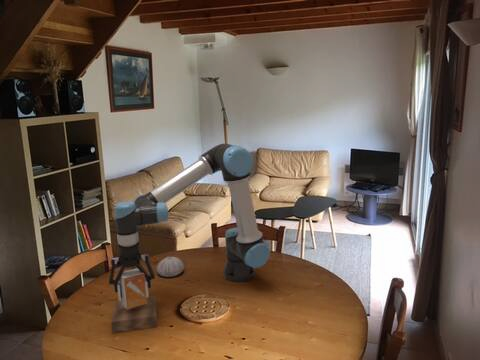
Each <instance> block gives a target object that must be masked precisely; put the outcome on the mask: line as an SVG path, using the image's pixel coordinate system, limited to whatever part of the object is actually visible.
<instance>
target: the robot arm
mask: <svg viewBox="0 0 480 360" xmlns="http://www.w3.org/2000/svg"><path fill="white" fill-rule="evenodd" d="M253 165H254V160H253V156H252V154H251V153H250V151H249V150H247V148H245V147H243V146H240V145H234V144H229V143H221V144H218V145H215V146H213V147H212V148H210V149H208V150H207V151H206V152H204V153H202V154H201V155H200V156H199V157H198V160H196V161H194V162H193V163H191V164H190V165H189V166H187V167H185V168H184V169H182V170H181V171H178V173H176V174H175V175H173V176H172V177H170V178H169V179H167V180H165V181H164V182H162V183H161V184H159V185H158V186H157V187H155V188H153V189H152V190H151V191H149V192H147V193H145V194H140V195H138V196H136V197H135V198H134V199H133V201H123V202H117V204H115V206H114V219H115V229H116V238H117V245H118V246H117V247H118V257H112V258H111V260H110V261H111V262H110V265H111V268H110V269H111V270H110V273H109V279H108V280H109V281H108V284H109V285H113V286H114V292H115V293H116V294H118V301H121V300H122V297H121V288H120V277H121V275H122V273H123V272H125V271H124V270H125V269H126V268H134V267H135V268H138V269H139V271H140V272H141V273H144V275H145V286H146V297H150V293H149V289H151V287H152V284H151V283H152V282H151V281H152V280H154V279H155V272H154V270H153V267H152V265H151V262H150V260H149V254H148V253H145V254H141V251H140V250H141V249H140V242H139V231H138V227H142V226H147V225H154V224H160V223H164V222H167V221H168V220H169V216H170V215H169V208H168V205H167V203H168V202H169V201H170V200H171V199H173V198H175V197H177V196H178V195H180V194H181V193H182V192H185V190H187V189H188V188H190V187H191V186H193V185H194V184H197V183H198V182H199V181H201V180H202V179H204V178H205V177H207V176H208V175H212V176H213V175H214V174H215V173H217V172H221V175H222V180H223V182H225V183H226V184H228V188H229V195H230V199H231V204H232V209H233V214H234V218H235V223H236V226H237V227H232V228H229V229H227V230H226V231H225V234H224V236H225V237H224V238H225V254H226V260H225V265H224V267H223V277H224V278H225V279H226V280H227V281H230V282H236V283H240V282H246V281H250V280H252V279H254V277H255V276H256V269H258V268H261V267H263V266H264V265H265V264H266V263H267V262H268V260H269V259H270V256H271V250H270V247H269V246H268V244H267V243H265V241H264V236H263V235H264V234H263V232H262V231H260V230H259V228H258V223H257V219H256V214H255V207H254V203H253V197H252V193H251V187H250V183H249V179H250V177H251V174H252V173H251V170H252V168H253ZM141 259H142V260H143V261H145V262H144V263H145V265H146V268H147V270H146V269H145V268H144V266H143V265H142V264H141V262H140V261H141ZM118 263H120V264H121V266H120V268H119V271H118V272H117V274H116V277H115V279H114V275H115V271H116V270H115V269H116V265H117V264H118ZM147 271H148V272H149V273H148V272H147Z"/></svg>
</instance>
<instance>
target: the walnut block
mask: <svg viewBox="0 0 480 360" xmlns="http://www.w3.org/2000/svg"><path fill="white" fill-rule="evenodd" d="M146 297H147V296H146ZM114 303H115V304H114V307H113V313H112V318H111V328H112V329H111V330H112V334H118V333H123V332H124V333H125V332H131V331H138V330H145V329H153V328H158V318H157V317H158V312H157V311H158V305H157V295H153V296H152V295H151V296H149V297H147V304H144V305H141V306H138V307H134V308H131V309H128V310H127V309H126V308H125V306H124V305H123V304H122V299H121V301H119V300H115V302H114Z"/></svg>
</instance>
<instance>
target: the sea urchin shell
mask: <svg viewBox="0 0 480 360" xmlns="http://www.w3.org/2000/svg"><path fill="white" fill-rule="evenodd" d="M184 270H185V265H184V262H183V261H182V260H181V259H180V258H179V257H176V256H166V257H165V258H163V259H161V261H159V263H158V264H157V266H156V272H157V274H159V276H162V277H165V278H170V277H172V278H173V277H175V276H176V277H177V276H178V275H180V274H181V273H182V272H183V271H184Z"/></svg>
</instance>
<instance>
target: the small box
mask: <svg viewBox="0 0 480 360" xmlns="http://www.w3.org/2000/svg"><path fill="white" fill-rule="evenodd" d="M119 282H120V288H121V297H122V298H121V300H122V304H123V305H124V306H125V308H126V309H127V310H128V309H131V308H134V307H138V306H141V305H144V304H147V296H146V286H145V275H144V273H141V272H140V271H139V269H138V268H137V267H135V268H133V269H127V270H125V271H123V273H122V275H121V277H120V279H119Z"/></svg>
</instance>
